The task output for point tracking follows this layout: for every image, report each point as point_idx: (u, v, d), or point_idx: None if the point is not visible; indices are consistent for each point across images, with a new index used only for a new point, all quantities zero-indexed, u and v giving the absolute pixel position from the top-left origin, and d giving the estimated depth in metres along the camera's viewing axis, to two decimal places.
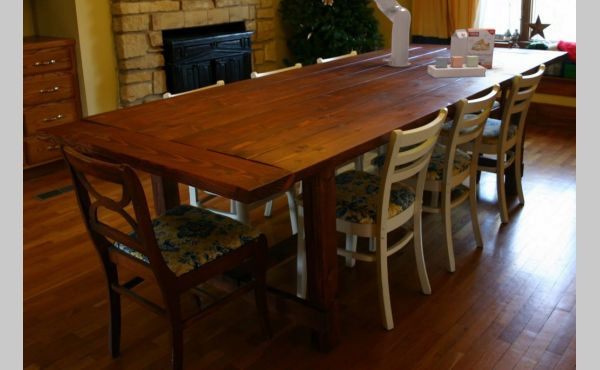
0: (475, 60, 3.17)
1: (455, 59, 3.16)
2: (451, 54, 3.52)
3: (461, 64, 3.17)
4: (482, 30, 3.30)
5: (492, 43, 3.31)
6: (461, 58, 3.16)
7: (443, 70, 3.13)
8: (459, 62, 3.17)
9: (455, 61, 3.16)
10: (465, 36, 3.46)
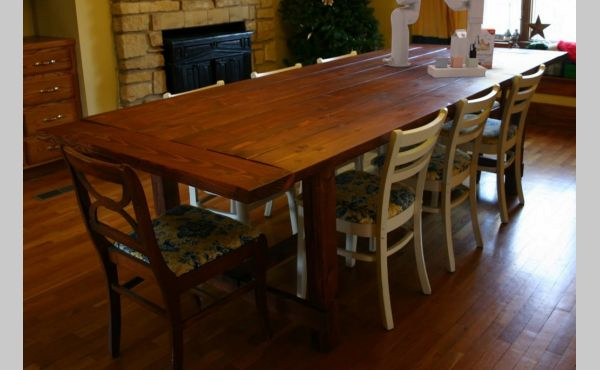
0: (475, 62, 3.17)
1: (455, 59, 3.16)
2: (451, 54, 3.52)
3: (461, 64, 3.17)
4: (482, 30, 3.30)
5: (492, 43, 3.31)
6: (461, 58, 3.16)
7: (443, 70, 3.13)
8: (459, 62, 3.17)
9: (455, 61, 3.16)
10: (465, 36, 3.46)
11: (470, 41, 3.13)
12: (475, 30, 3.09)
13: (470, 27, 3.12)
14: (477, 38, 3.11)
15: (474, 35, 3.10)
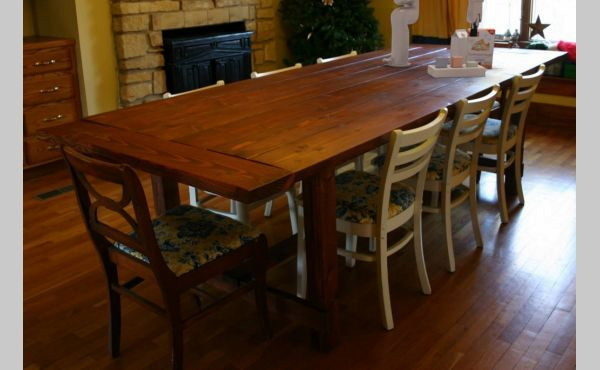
0: (474, 66, 3.18)
1: (455, 59, 3.16)
2: (451, 54, 3.52)
3: (461, 64, 3.17)
4: (482, 30, 3.30)
5: (492, 43, 3.31)
6: (461, 58, 3.16)
7: (443, 70, 3.13)
8: (459, 62, 3.17)
9: (455, 61, 3.16)
10: (465, 36, 3.46)
11: (471, 19, 3.09)
12: (476, 8, 3.06)
13: (471, 5, 3.08)
14: (478, 16, 3.07)
15: (475, 13, 3.06)
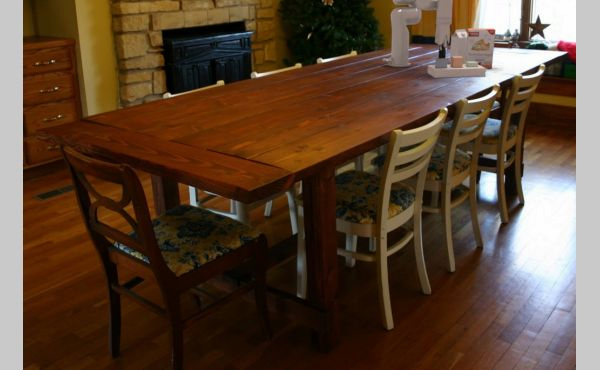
0: (474, 66, 3.18)
1: (455, 59, 3.16)
2: (451, 54, 3.52)
3: (461, 64, 3.17)
4: (482, 30, 3.30)
5: (492, 43, 3.31)
6: (461, 58, 3.16)
7: (443, 70, 3.13)
8: (459, 62, 3.17)
9: (455, 61, 3.16)
10: (465, 36, 3.46)
11: (439, 41, 3.12)
12: (443, 30, 3.08)
13: (439, 27, 3.11)
14: (446, 38, 3.10)
15: (442, 35, 3.09)
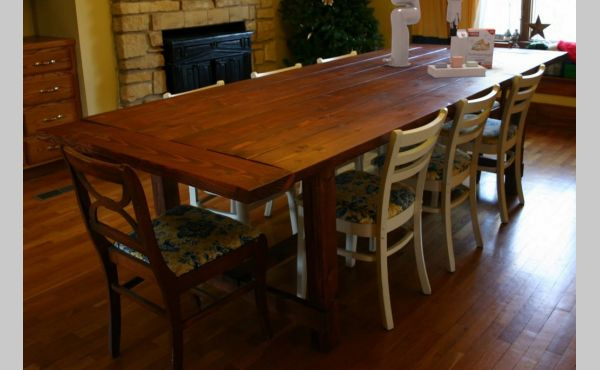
0: (474, 66, 3.18)
1: (455, 59, 3.16)
2: (451, 54, 3.52)
3: (461, 64, 3.17)
4: (482, 30, 3.30)
5: (492, 43, 3.31)
6: (461, 58, 3.16)
7: (443, 70, 3.13)
8: (459, 62, 3.17)
9: (455, 61, 3.16)
10: (465, 36, 3.46)
11: (450, 19, 3.08)
12: (455, 7, 3.05)
13: (450, 4, 3.07)
14: (457, 15, 3.06)
15: (454, 12, 3.05)
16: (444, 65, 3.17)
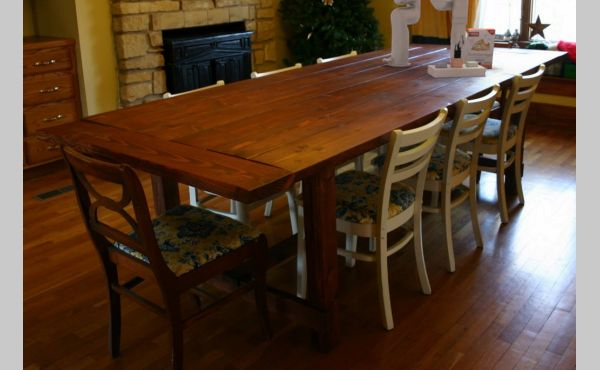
0: (474, 66, 3.18)
1: (455, 60, 3.16)
2: (451, 54, 3.52)
3: (461, 65, 3.17)
4: (482, 30, 3.30)
5: (492, 43, 3.31)
6: (461, 59, 3.16)
7: (443, 70, 3.13)
8: (459, 63, 3.17)
9: (455, 62, 3.17)
10: None
11: (454, 41, 3.12)
12: (459, 30, 3.09)
13: (454, 27, 3.11)
14: (461, 38, 3.10)
15: (458, 35, 3.09)
16: (444, 65, 3.17)
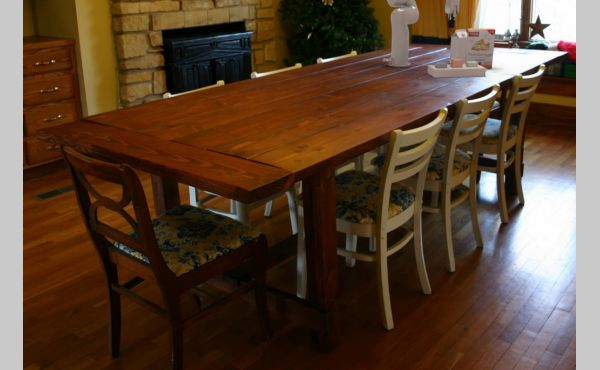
0: (474, 66, 3.18)
1: (455, 62, 3.16)
2: (451, 54, 3.52)
3: (461, 67, 3.18)
4: (482, 30, 3.30)
5: (492, 43, 3.31)
6: (461, 61, 3.17)
7: (443, 70, 3.13)
8: (459, 65, 3.17)
9: (455, 64, 3.17)
10: (465, 36, 3.46)
11: (448, 10, 3.15)
12: None
13: None
14: (455, 8, 3.13)
15: (452, 4, 3.12)
16: (444, 65, 3.17)
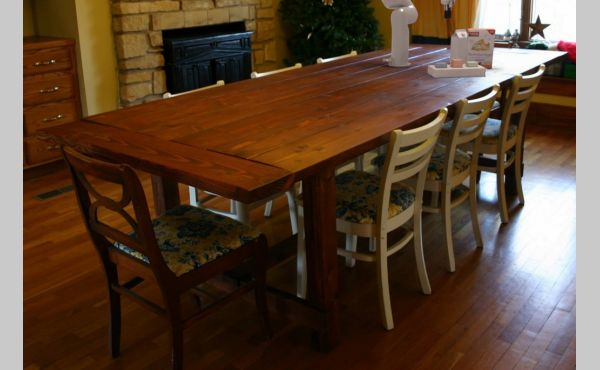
0: (474, 66, 3.18)
1: (455, 62, 3.16)
2: (451, 54, 3.52)
3: (461, 67, 3.18)
4: (482, 30, 3.30)
5: (492, 43, 3.31)
6: (461, 61, 3.17)
7: (443, 70, 3.13)
8: (459, 65, 3.17)
9: (455, 64, 3.17)
10: (465, 36, 3.46)
11: (445, 1, 3.19)
12: None
13: None
14: None
15: None
16: (444, 65, 3.17)
